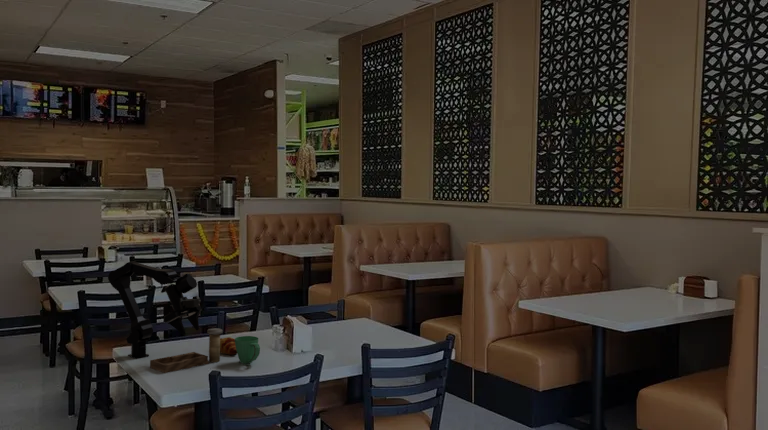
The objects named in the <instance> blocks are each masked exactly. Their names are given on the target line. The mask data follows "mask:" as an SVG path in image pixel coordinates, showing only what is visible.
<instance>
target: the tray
mask: <svg viewBox="0 0 768 430" xmlns="http://www.w3.org/2000/svg"><path fill="white" fill-rule="evenodd" d="M209 363H210V362H209V355H206V354H201V353H199V352H196V351H191V352H187V353H181V354H178V355H177V354H176V355H172V356H165V357H159V358H155V359H150V360H149V365H150V366H149V367H150V369H153V370H156V371H159V372H160V373H164V374H168V373H171V372H177V371H181V369H182V370H184V369H190V368H195V367H199V366H203V365H204V366H205V365H207V364H209Z"/></svg>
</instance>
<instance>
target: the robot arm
mask: <svg viewBox="0 0 768 430" xmlns="http://www.w3.org/2000/svg"><path fill="white" fill-rule="evenodd" d="M134 274H138V275H141V276H145V277H148V278H150V279H153V280H154V281H155V282H156V283H158V284H161V285H163V286H162V289H161V291H160V293H162V294H163V293H166V295H167V297H168V300H169V302H170V303H168V305H169V306H170V307H172V309H173V311H171V312H169V313H167V314H166V315H164V316H163V321H164V323H165V324H166V323H167V324H168V325H170V326H171V327H173V328H175V330H177V332H179V333H180V334H181V335H183V336H185V335H186V330H185V326H184V324H183V322H182V320H183V317H184V316H186V319H187V320H188V321H189V322H190V324H191V325H192V327H193V328H194V329H195V330H196V331H199V330H200V327H199V323H200V322H199V316H200V314H201V313H202V311H203V308H202V305H200V304H201V302H202V300H201V298H200V297H199V295H195V296H192V298H191V299H190V298H189V299H188V297H187V296H184V295H183V294H186V293H189V292H190V291H191V290H193V289H196V288H197V285H198V282H197V280H196V278H195V277H193V275H191V274H190V273H185V274H183V276H181V275H180V274H178V273H177V272H176V270H175V269H168V268H157V267H153V266H150V265H147V264H143V263H140V262H137V261H136V260H134V261H128V262H126V263H125V264H123V265H122V266H120V267H118V268H116V269H114V270H111V271H110V272H109V273H108V275H107V279H108V282H109V283H110V285H111V287H112V288H113V289H115V290H116V291H117V292H118V294H119V296H120V299H121V301H122V303H123V305H124V308H125V310H126V312H127V314H128V315H127V316H128V318H129V320H130V322H131V323H130V328H129V329H130V332H131V333H130V334H129V335H128V336H127V337H126V342H127V343H126V344H130V345H131V349H130V350H131V351H130V353H129V354H127V357H130V358H133V359H140V358H145V357H149V356H150V354H148V353H147V341H148V342H149V341H150V340H151V337H152V335H153V333H154V326H153V324H152V322H151V320H150V318H144V316H143V314H142V312H141V310H140V308H139V305H138V302H137V301H136V298H135V296H134V293H133V292H132V289H131V276H133V275H134Z"/></svg>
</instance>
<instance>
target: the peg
mask: <svg viewBox="0 0 768 430" xmlns="http://www.w3.org/2000/svg"><path fill="white" fill-rule="evenodd" d="M206 333H207V335H208V336H209V337H208V338H209V343H208V361H209V362H208V363H219V362H220V361H221V353H220V339H221V334H223V329H222V328H208V329H207V330H206Z"/></svg>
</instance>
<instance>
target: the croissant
mask: <svg viewBox="0 0 768 430" xmlns="http://www.w3.org/2000/svg"><path fill="white" fill-rule="evenodd" d="M220 354H224V355H225V354H226V355H229V356H232V355H236V354H237V350H236V345H235V338H233V337H230V336H229V337H223V338H221V337H220ZM237 355H238V354H237Z"/></svg>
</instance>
